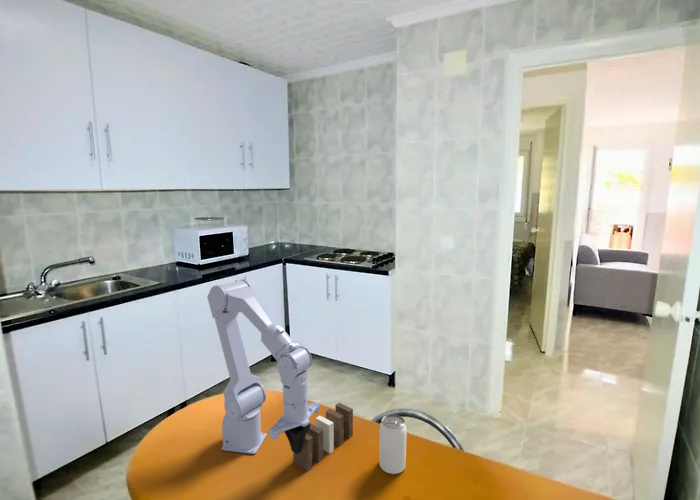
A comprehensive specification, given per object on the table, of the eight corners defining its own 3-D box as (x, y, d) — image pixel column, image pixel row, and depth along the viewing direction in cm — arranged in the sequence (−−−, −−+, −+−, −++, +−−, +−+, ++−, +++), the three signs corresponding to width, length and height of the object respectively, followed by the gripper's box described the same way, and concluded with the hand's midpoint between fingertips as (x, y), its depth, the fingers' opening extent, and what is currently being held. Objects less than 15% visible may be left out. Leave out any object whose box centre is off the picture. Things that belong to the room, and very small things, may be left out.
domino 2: (318, 462, 92) (318, 433, 91) (304, 453, 95) (304, 425, 94) (323, 459, 93) (322, 430, 92) (309, 450, 96) (308, 422, 95)
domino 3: (329, 453, 95) (329, 425, 94) (315, 445, 98) (315, 418, 97) (333, 450, 96) (333, 422, 95) (320, 442, 99) (319, 415, 98)
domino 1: (307, 471, 89) (308, 440, 88) (293, 462, 92) (294, 431, 91) (311, 468, 90) (312, 437, 89) (297, 458, 93) (298, 428, 92)
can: (404, 477, 87) (405, 430, 85) (377, 473, 88) (378, 427, 86) (406, 458, 93) (407, 414, 91) (380, 454, 94) (381, 411, 93)
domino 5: (349, 438, 101) (349, 411, 100) (335, 431, 104) (335, 405, 103) (352, 435, 102) (352, 408, 101) (339, 428, 105) (339, 402, 104)
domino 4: (339, 446, 98) (339, 418, 97) (325, 438, 101) (325, 411, 100) (343, 442, 99) (343, 415, 98) (329, 435, 102) (329, 408, 101)
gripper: (282, 419, 79) (284, 476, 81) (328, 392, 90) (328, 442, 92) (262, 407, 83) (264, 461, 85) (308, 382, 94) (309, 431, 96)
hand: (296, 451), depth 89 cm, fingers closed
